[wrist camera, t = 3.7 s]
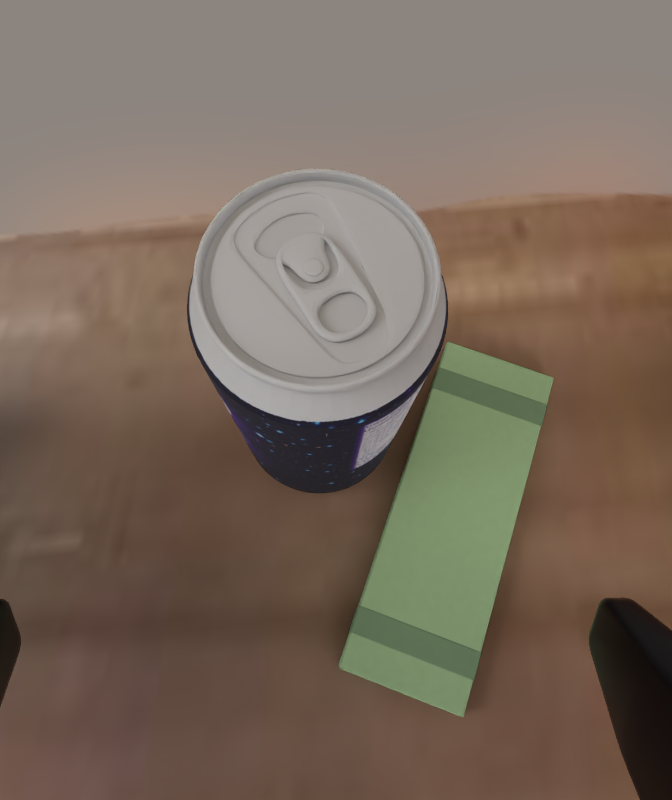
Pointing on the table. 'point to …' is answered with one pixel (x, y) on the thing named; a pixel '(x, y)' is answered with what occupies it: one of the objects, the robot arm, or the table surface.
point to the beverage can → (317, 321)
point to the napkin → (449, 530)
